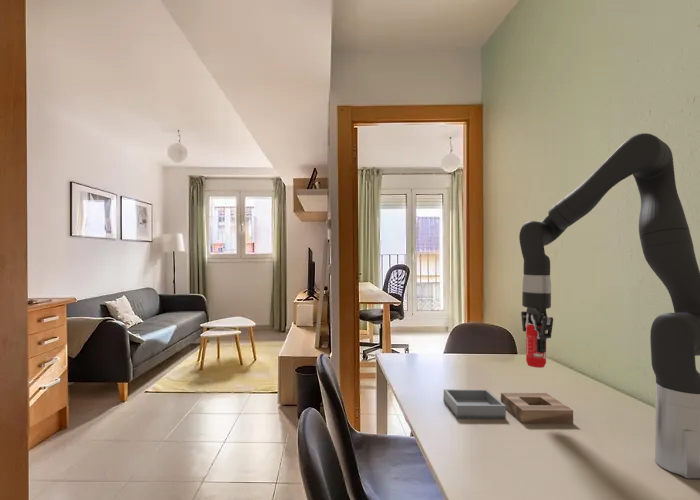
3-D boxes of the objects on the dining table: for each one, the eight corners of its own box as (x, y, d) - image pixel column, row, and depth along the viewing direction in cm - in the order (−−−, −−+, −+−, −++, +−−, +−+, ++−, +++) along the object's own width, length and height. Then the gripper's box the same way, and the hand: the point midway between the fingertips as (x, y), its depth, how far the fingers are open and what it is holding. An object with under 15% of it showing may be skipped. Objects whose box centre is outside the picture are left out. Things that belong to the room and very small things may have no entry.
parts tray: (505, 418, 113) (505, 405, 113) (457, 418, 112) (457, 405, 113) (486, 400, 127) (487, 389, 127) (443, 400, 126) (443, 389, 126)
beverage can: (525, 366, 116) (525, 324, 116) (526, 362, 121) (527, 321, 121) (545, 369, 114) (545, 325, 114) (546, 364, 118) (546, 323, 119)
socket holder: (573, 423, 111) (573, 410, 111) (522, 423, 110) (522, 410, 110) (545, 404, 125) (546, 392, 125) (500, 404, 124) (501, 392, 124)
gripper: (563, 293, 111) (563, 356, 110) (536, 289, 125) (536, 345, 125) (536, 292, 110) (535, 356, 110) (512, 288, 125) (512, 344, 124)
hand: (536, 349), depth 117 cm, fingers closed on beverage can, 5 cm apart
